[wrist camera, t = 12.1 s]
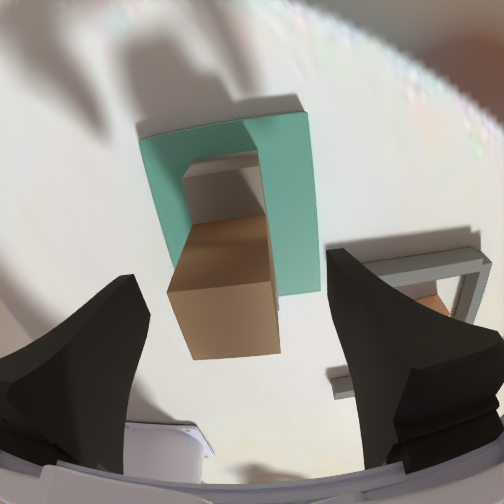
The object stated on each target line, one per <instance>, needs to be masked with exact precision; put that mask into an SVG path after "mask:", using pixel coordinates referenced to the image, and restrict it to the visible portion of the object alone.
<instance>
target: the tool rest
mask: <svg viewBox="0 0 504 504" xmlns="http://www.w3.org/2000/svg"><path fill="white" fill-rule="evenodd" d="M139 146H140V150H141V154H142V158H143V162H144V166H145V170H146V173H147V177H148V181H149V185H150V188H151V192H152V196H153V199H154V203H155V206H156V210H157V213H158V217H159V220H160V224H161V227H162V230H163V234H164V237H165V240H166V243H167V247H168V250H169V253H170V256H171V259H172V262H173V266H174V269H175V268H176V266H177V263H178V260H179V258H180V255H181V252H182V250H183V247H184V245H185V242H186V240H187V237H188V234H189V232H190V229H191V227H192V221H191V217H190V213H189V209H188V205H187V201H186V197H185V193H184V189H183V185H182V180H181V178H182V176H183V175H184V174H185V172H186V171H187V170H188V168H189V167H190V165H191V164H192V163H193V161H194V160H195V159H201V158H207V157H212V156H218V155H224V154H231V153H237V152H244V151H251V150H258V153H259V159H260V166H261V173H262V179H263V186H264V193H265V200H266V207H267V214H268V221H269V228H270V235H271V242H272V250H273V257H274V265H275V272H276V282H277V293H278V296H286V295H294V294H302V293H310V292H317V291H321V285H320V260H319V240H318V223H317V208H316V195H315V182H314V171H313V160H312V150H311V140H310V131H309V122H308V113H307V112H306V111H300V112H290V113H281V114H273V115H265V116H257V117H250V118H243V119H237V120H231V121H225V122H219V123H213V124H208V125H203V126H197V127H192V128H188V129H183V130H178V131H173V132H169V133H165V134H160V135H156V136H152V137H148V138H144V139H142V140H140V141H139Z"/></svg>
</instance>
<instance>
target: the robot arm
mask: <svg viewBox="0 0 504 504" xmlns="http://www.w3.org/2000/svg"><path fill="white" fill-rule="evenodd" d="M326 256H327V296H328V301H329V306H330V311H331V315H332V320H333V323H334V325H335V328H336V331H337V334H338V337H339V340H340V343H341V346H342V349H343V352H344V355H345V358H346V361H347V364H348V367H349V371H350V374H351V378H352V383H353V389H354V394H355V399H356V405H357V411H358V417H359V423H360V431H361V438H362V446H363V455H364V466H365V470H363V471H358V472H353V473H348V474H342V475H336V476H330V477H323V478H316V479H308V480H299V481H289V482H277V483H259V484H202V483H201V474H202V464H203V458H213V457H215V454H214V452H213V451H212V449H211V448H210V446H209V445H208V443H207V442H206V440H205V439H204V437H203V435H202V434H201V432H200V431H199V429H198V428H197V427H196V426H185V425H158V424H143V423H130V422H126V413H127V406H128V400H129V394H130V389H131V385H132V382H133V378H134V375H135V372H136V369H137V366H138V363H139V360H140V357H141V353H142V350H143V347H144V344H145V341H146V338H147V333H148V328H149V322H150V316H151V314H150V312H149V310H148V307H147V305H146V303H145V300H144V298H143V295H142V293H141V291H140V288H139V286H138V283H137V281H136V278H135V276H134V274H130V275H121V276H119V277H117V278H116V279H115V280H113V281H112V282H111V283H109V284H108V285H107V286H106V287H104V288H103V289H102V290H101V291H100V292H98V293H97V294H96V295H95V296H94V297H93V298H91V299H90V300H89V301H88V302H87V303H86V304H84V305H83V306H82V307H81V308H79V309H78V310H77V311H76V312H75V313H73V314H72V315H71V316H70V317H68V318H67V319H66V320H65V321H63V322H62V323H61V324H59V325H58V326H57V327H55V328H54V329H52V330H51V331H50V332H48V333H47V334H45V335H44V336H42V337H40V338H39V339H37V340H35V341H34V342H32V343H30V344H29V345H27V346H25V347H23V348H21V349H19V350H18V351H16V352H14V353H11V354H9V355H7V356H5V357H3V358H0V500H1V501H3V502H5V503H7V504H502V503H504V414H503V415H502V416H501V417H499V415H498V413H497V411H496V409H498V407H499V401H498V399H497V397H496V394H497V392H498V391H499V389H500V388H501V386H502V385H503V383H504V340H503V338H502V337H501V335H500V334H499V333H498V331H495V330H491V329H487V328H484V327H480V326H476V325H472V324H469V323H466V322H463V321H460V320H457V319H454V318H451V317H449V316H446V315H444V314H441V313H439V312H437V311H435V310H433V309H430V308H428V307H426V306H424V305H422V304H420V303H418V302H416V301H415V300H413V299H411V298H409V297H408V296H406V295H404V294H402V293H401V292H399V291H398V290H396V289H395V288H393V287H392V286H390V285H389V284H387V283H386V282H384V281H383V280H382V279H380V278H379V277H378V276H376V275H375V274H374V273H372V272H371V271H370V270H369V269H367V268H366V267H365V266H364V265H362V264H361V263H360V262H359V261H358V260H357V259H355V258H354V257H353V256H352V255H351V254H349V253H348V252H347V251H346V250H345V249H343V248H340V249H332V250H326Z"/></svg>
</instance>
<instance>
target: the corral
mask: <svg viewBox="0 0 504 504" xmlns="http://www.w3.org/2000/svg"><path fill="white" fill-rule="evenodd" d="M361 264H362V265H364V266H365V267H366V268H367V269H369V270H370V271H371V272H372V273H374V274H375V275H376V276H378V277H379V278H380V279H382V280H383V281H384V282H386V283H387V284H389V285H390V286H392V287H393V288H395V287H401V286H406V285H412V284H418V283H423V282H429V281H434V280H439V279H445V278H450V277H455V276H460V275H465V274H466V276H465V280H464V284H463V288H462V292H461V295H460V299H459V302H458V306H457V309H456V312H455V315H454V319H457V320H460V321H463V322H466V323H469V324H472V325H473V323H474V320H475V317H476V314H477V311H478V309H479V306H480V303H481V300H482V297H483V293H484V290H485V287H486V284H487V280H488V277H489V273H490V270H491V266H492V262H491V261H490V260H489V259H488V258H487V257H486V256H485V254H484V253H483V252H482V251H479V252H477V251H476V250H475V249H474V248H473V247H467V248H461V249H455V250H448V251H442V252H436V253H429V254H423V255H416V256H409V257H403V258H396V259H389V260H382V261H375V262H368V263H361ZM332 390H333V395H334V400H337V399H343V398H349V397H355V394H354V389H353V383H352V378H351V376H347V377H341V378H335V379H332Z"/></svg>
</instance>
